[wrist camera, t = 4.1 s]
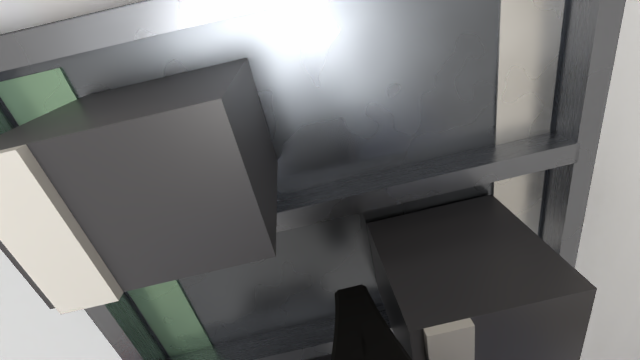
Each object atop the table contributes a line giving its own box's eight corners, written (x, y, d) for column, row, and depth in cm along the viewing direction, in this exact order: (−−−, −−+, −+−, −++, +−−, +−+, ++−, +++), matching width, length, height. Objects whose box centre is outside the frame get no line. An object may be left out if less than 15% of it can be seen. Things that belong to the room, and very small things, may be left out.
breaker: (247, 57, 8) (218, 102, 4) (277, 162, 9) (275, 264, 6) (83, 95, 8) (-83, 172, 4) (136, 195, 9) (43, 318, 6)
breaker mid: (491, 194, 11) (604, 295, 7) (489, 261, 12) (583, 377, 8) (366, 223, 11) (412, 340, 7) (377, 287, 12) (421, 414, 8)
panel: (571, -96, 8) (649, -124, 7) (521, 347, 16) (551, 389, 14) (-27, 45, 8) (-110, 55, 7) (213, 418, 16) (205, 469, 15)
